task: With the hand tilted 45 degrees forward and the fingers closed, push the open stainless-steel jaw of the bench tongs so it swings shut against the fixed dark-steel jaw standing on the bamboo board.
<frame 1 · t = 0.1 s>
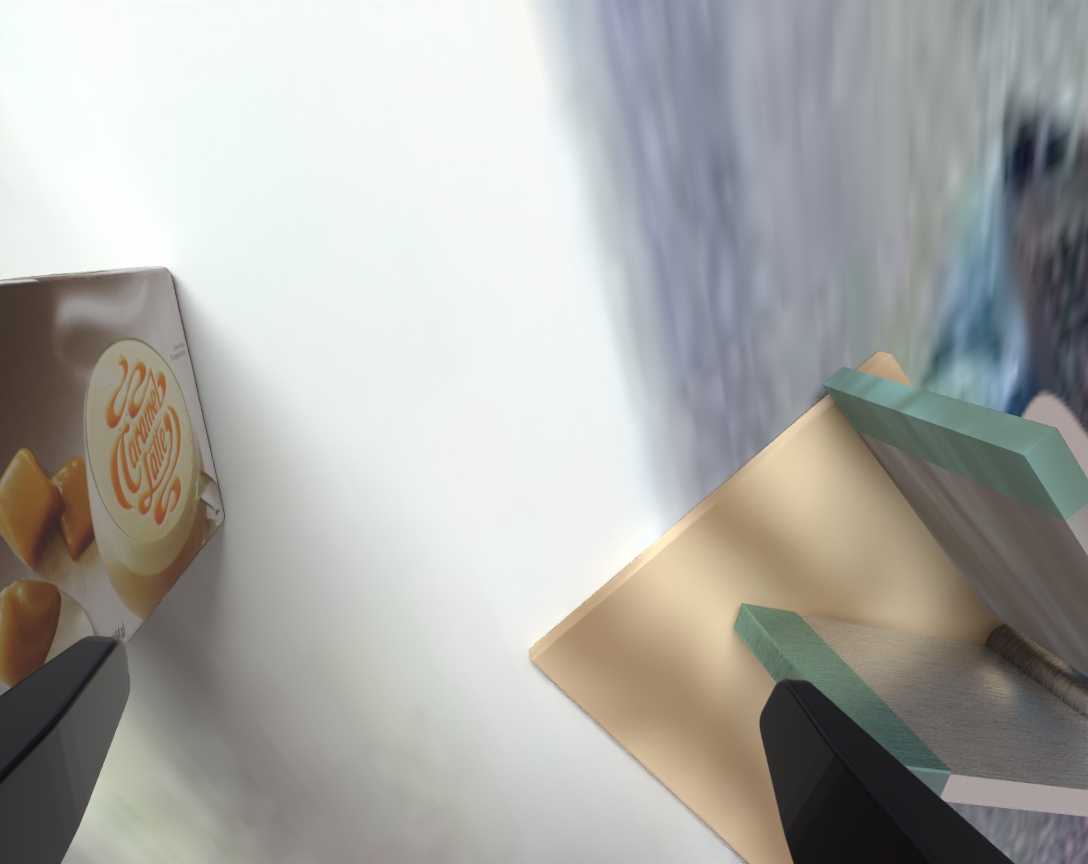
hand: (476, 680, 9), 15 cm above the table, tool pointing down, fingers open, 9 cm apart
coffee box: (109, 413, 22), on the table
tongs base: (982, 626, 30), on the table
jaw: (965, 692, 23), point 6 cm above the table, hinge at 35.0°
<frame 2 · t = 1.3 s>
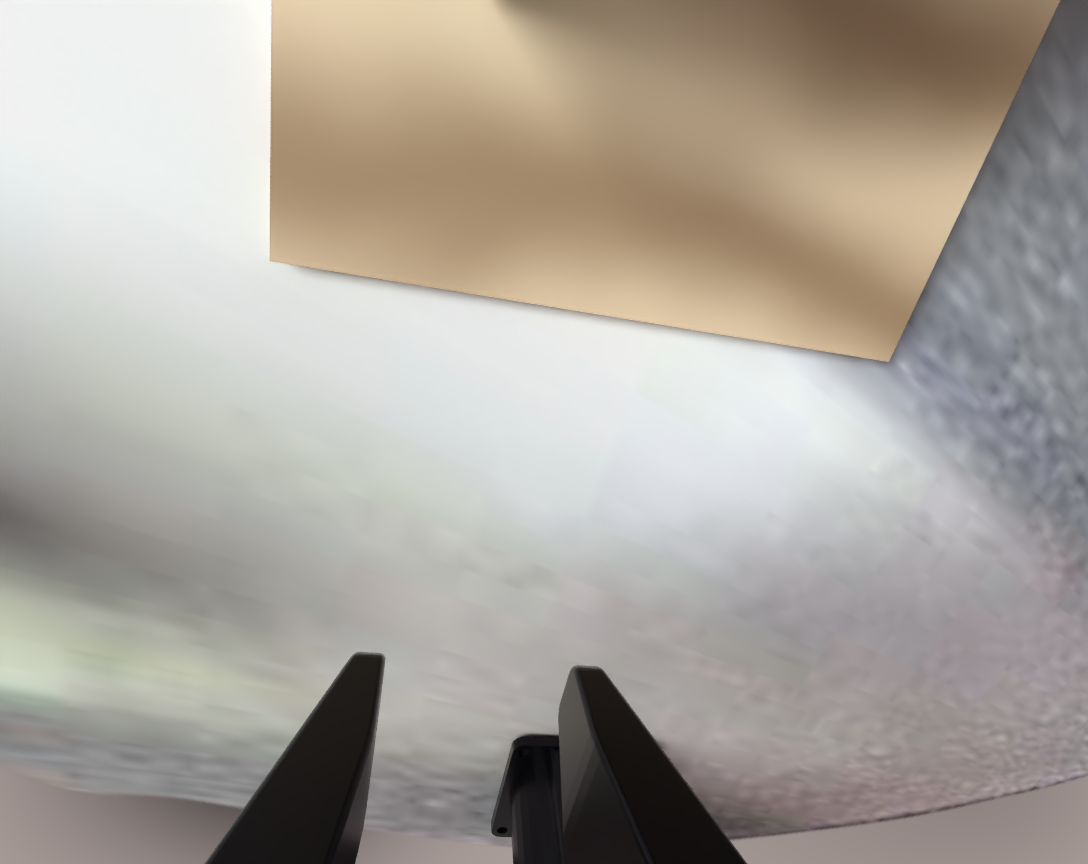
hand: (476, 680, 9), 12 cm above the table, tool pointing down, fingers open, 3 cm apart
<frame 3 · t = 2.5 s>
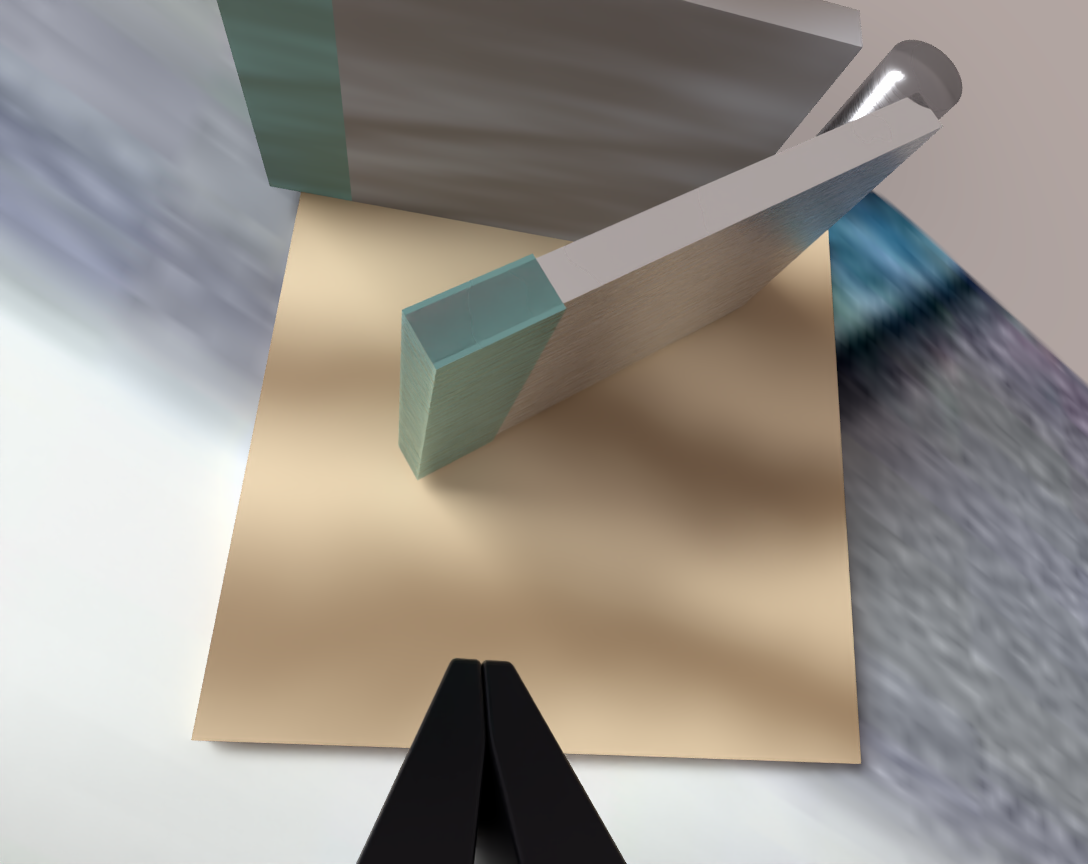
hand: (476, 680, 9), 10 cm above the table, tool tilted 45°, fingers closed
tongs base: (716, 288, 23), on the table
jaw: (645, 280, 16), point 6 cm above the table, hinge at 35.0°
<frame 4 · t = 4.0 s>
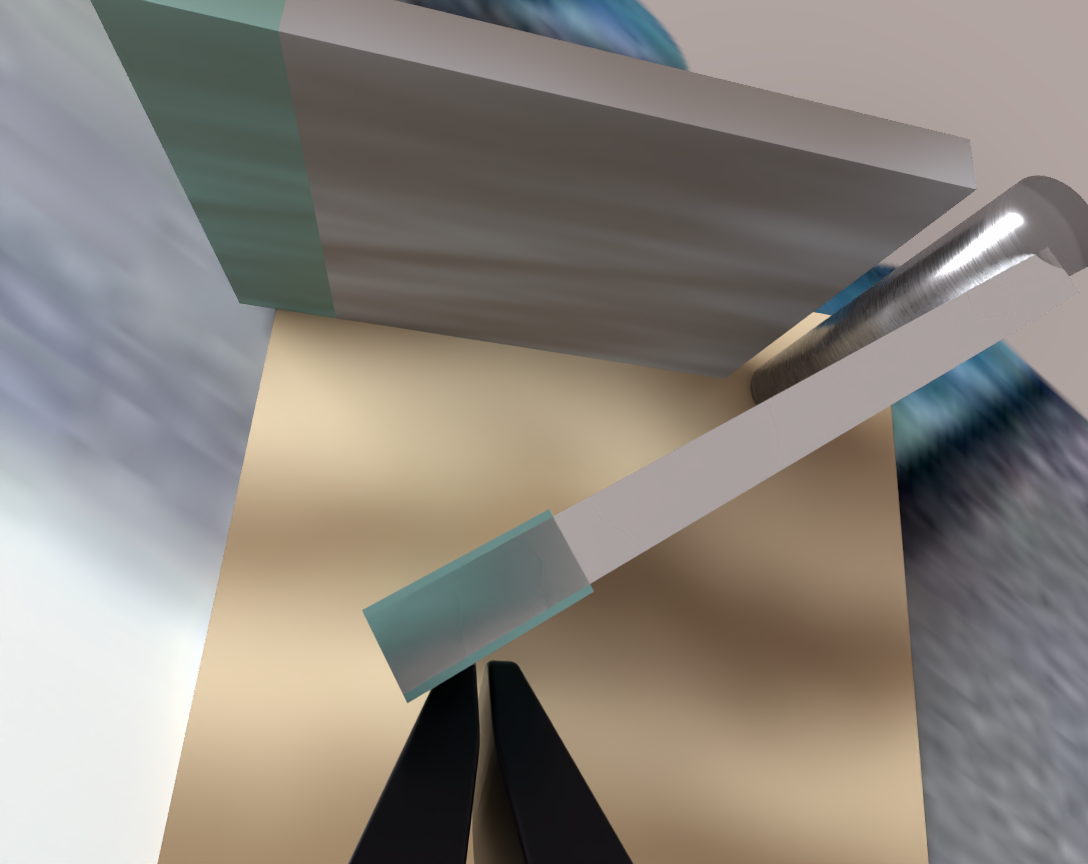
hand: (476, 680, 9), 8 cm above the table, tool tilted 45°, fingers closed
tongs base: (757, 404, 20), on the table
jaw: (685, 445, 13), point 6 cm above the table, hinge at 33.8°, touching gripper
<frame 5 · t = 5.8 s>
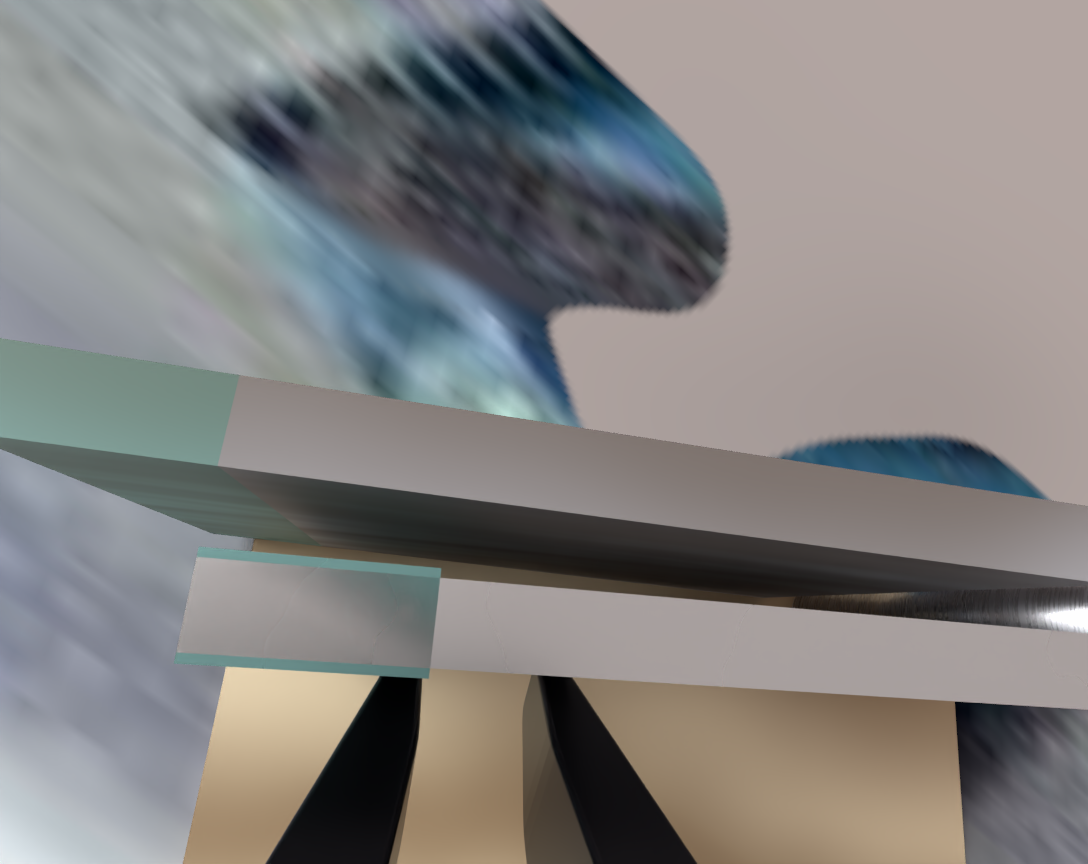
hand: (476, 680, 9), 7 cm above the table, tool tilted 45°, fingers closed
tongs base: (797, 615, 18), on the table
jaw: (672, 604, 12), point 6 cm above the table, hinge at 1.5°, touching gripper
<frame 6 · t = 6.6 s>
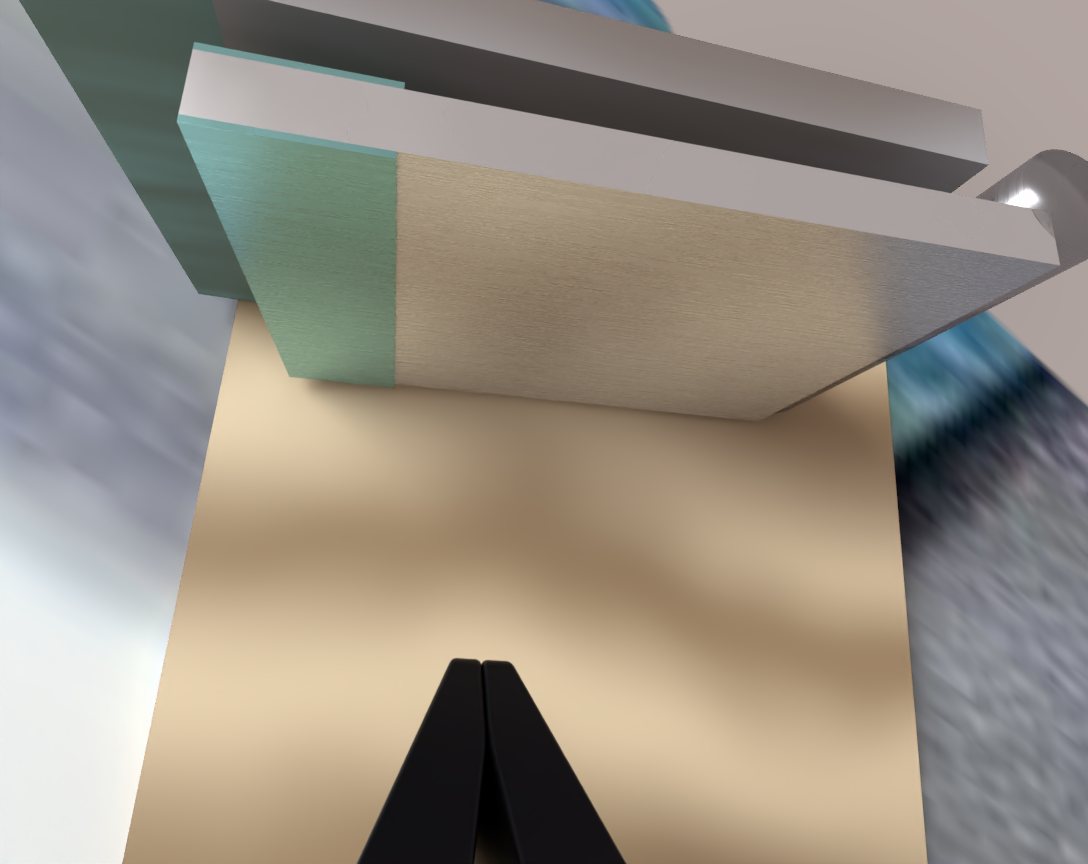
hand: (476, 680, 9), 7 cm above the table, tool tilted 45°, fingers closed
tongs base: (750, 394, 19), on the table
jaw: (623, 288, 13), point 5 cm above the table, hinge at 1.5°
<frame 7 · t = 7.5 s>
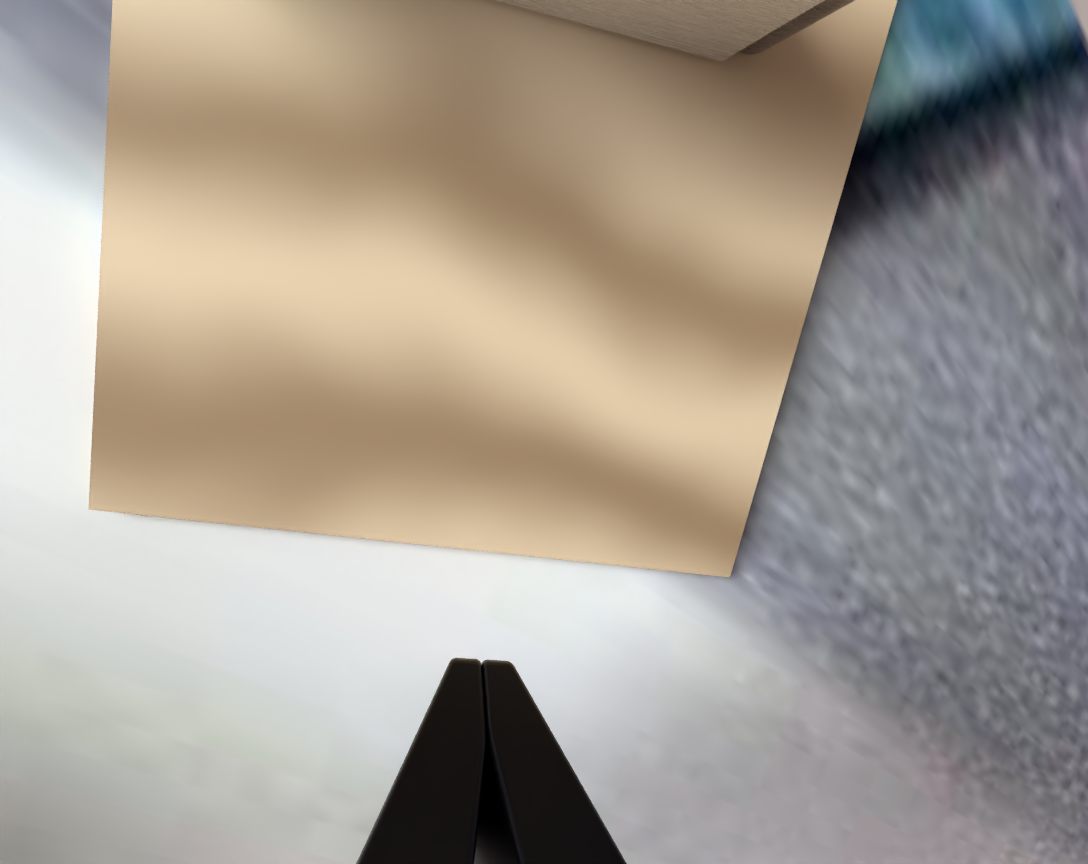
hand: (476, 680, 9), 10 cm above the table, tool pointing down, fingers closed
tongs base: (729, 28, 17), on the table
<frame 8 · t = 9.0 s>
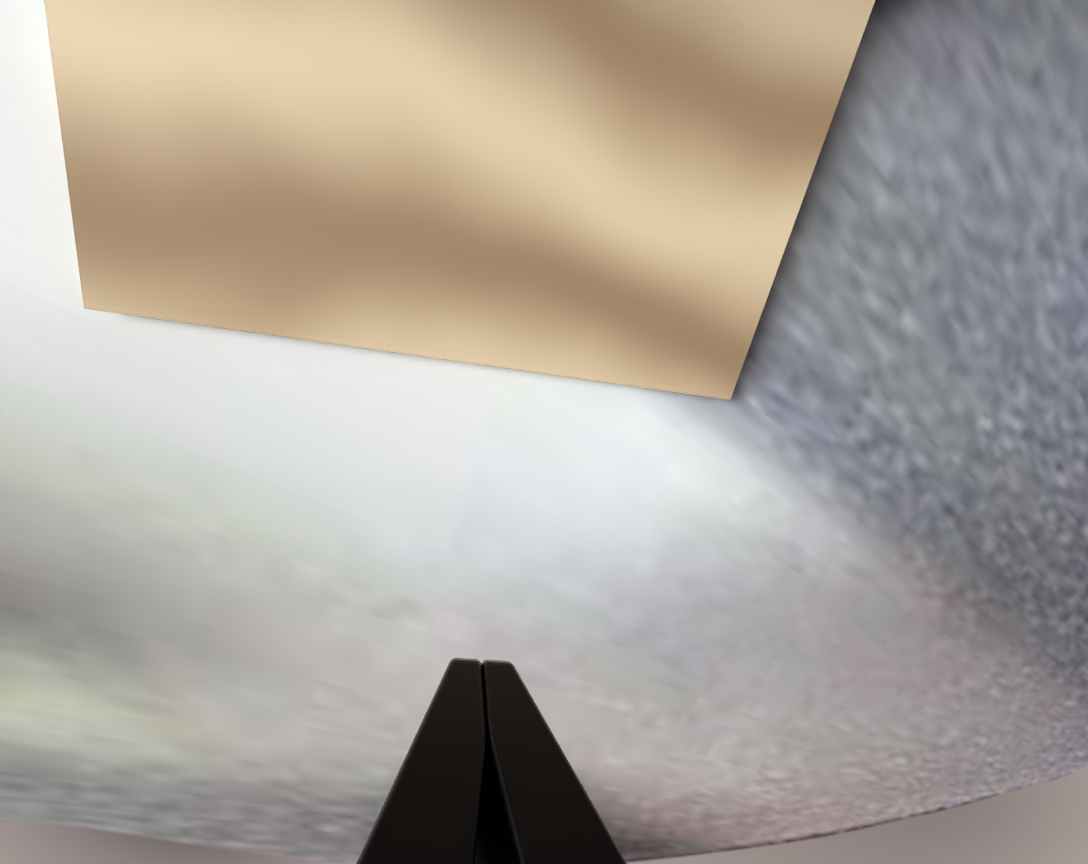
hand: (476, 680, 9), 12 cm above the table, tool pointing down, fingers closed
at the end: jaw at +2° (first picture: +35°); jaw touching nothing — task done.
